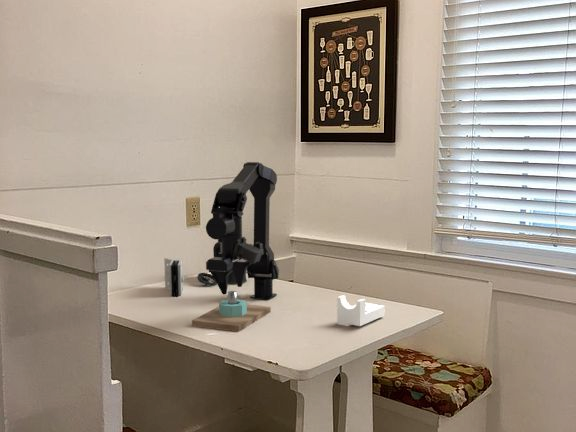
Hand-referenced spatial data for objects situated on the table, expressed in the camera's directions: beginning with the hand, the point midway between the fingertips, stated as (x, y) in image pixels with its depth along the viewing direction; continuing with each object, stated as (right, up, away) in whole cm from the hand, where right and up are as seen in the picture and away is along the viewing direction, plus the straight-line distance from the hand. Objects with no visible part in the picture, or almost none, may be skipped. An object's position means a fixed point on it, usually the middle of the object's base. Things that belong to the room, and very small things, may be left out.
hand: (232, 290), depth 178 cm
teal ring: (0, -6, +1) cm, 6 cm away
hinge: (-22, -4, +32) cm, 39 cm away
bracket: (+35, -9, -1) cm, 36 cm away
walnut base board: (0, -8, +1) cm, 8 cm away
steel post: (0, -8, +1) cm, 8 cm away
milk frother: (-7, -3, +45) cm, 45 cm away
